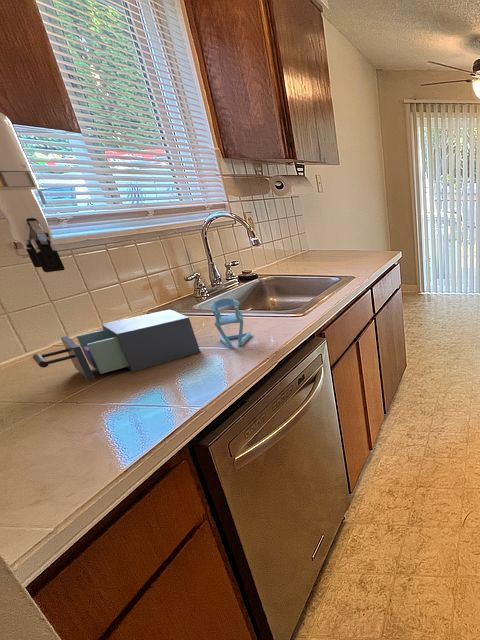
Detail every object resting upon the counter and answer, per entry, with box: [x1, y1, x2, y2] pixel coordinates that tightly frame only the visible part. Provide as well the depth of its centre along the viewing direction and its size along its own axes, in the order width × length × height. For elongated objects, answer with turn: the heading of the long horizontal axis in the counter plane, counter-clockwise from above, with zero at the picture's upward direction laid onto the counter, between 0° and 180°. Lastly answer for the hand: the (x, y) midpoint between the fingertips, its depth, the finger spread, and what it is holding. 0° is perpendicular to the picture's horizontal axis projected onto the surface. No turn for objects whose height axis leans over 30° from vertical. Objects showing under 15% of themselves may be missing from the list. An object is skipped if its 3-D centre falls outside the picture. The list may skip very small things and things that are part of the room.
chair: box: [209, 298, 252, 349], centre depth 109 cm, size 8×8×12 cm
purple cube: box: [81, 346, 97, 369], centre depth 94 cm, size 4×4×4 cm
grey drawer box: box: [101, 308, 201, 372], centre depth 101 cm, size 15×13×10 cm
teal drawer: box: [32, 329, 129, 381], centre depth 93 cm, size 19×11×8 cm, turn 144°
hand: (49, 268), depth 86 cm, fingers open, 9 cm apart
